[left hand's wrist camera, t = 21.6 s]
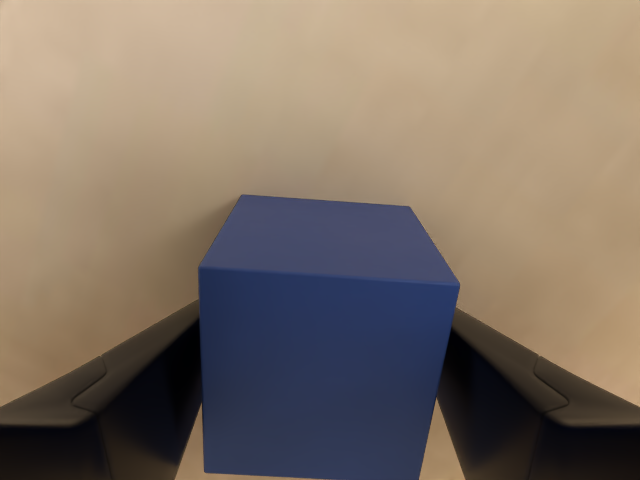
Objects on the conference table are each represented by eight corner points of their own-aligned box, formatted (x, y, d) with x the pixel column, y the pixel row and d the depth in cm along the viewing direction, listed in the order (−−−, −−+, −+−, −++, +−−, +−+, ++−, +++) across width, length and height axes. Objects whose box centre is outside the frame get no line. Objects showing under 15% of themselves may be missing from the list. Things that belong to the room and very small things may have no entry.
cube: (410, 205, 13) (461, 283, 8) (387, 354, 14) (418, 485, 10) (241, 194, 12) (197, 266, 8) (239, 345, 14) (203, 474, 10)
